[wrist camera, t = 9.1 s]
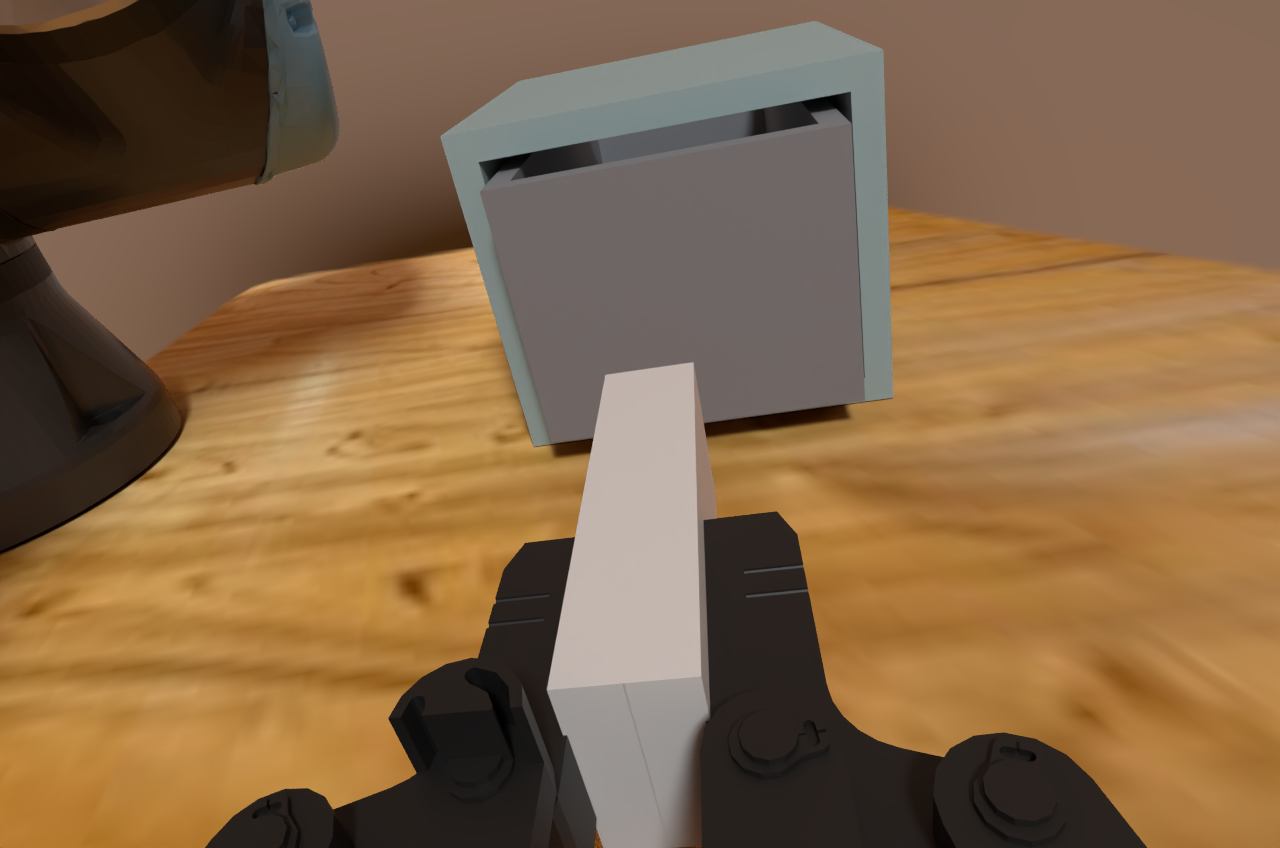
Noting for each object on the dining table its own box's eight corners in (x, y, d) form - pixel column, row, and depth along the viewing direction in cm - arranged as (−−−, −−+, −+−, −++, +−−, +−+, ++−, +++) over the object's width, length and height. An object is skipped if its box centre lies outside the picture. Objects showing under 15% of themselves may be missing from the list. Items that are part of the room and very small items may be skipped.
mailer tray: (865, 400, 27) (851, 123, 22) (551, 443, 28) (479, 191, 24) (786, 211, 47) (771, 47, 43) (607, 242, 49) (574, 86, 44)
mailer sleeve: (893, 397, 29) (883, 49, 23) (533, 446, 31) (440, 136, 25) (832, 271, 41) (815, 20, 35) (576, 312, 43) (519, 81, 37)
